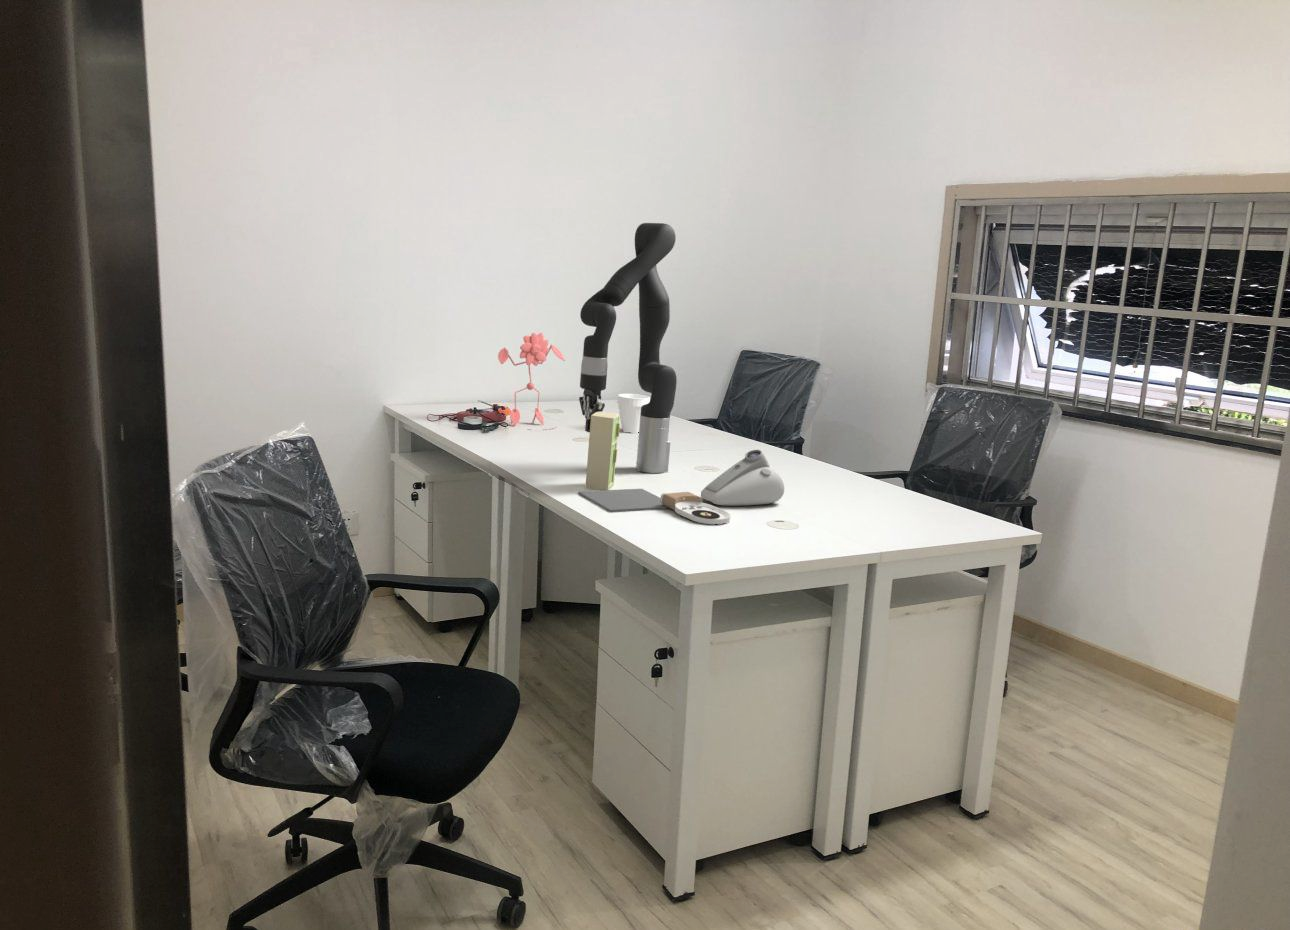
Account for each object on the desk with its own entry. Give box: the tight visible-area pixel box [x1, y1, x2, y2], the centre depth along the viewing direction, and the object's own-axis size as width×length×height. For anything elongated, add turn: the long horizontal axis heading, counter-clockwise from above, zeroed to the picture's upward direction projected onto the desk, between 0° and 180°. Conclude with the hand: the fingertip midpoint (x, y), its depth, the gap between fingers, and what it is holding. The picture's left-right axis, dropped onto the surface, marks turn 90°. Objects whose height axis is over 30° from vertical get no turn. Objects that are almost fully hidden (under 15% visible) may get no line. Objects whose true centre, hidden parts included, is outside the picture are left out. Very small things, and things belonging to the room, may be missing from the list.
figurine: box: [497, 332, 565, 431], centre depth 368 cm, size 15×26×35 cm, turn 125°
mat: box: [577, 488, 672, 513], centre depth 270 cm, size 20×20×1 cm
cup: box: [616, 393, 651, 434], centre depth 377 cm, size 12×12×14 cm
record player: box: [660, 490, 731, 525], centre depth 261 cm, size 12×3×20 cm
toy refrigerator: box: [585, 411, 621, 491], centre depth 282 cm, size 8×7×21 cm
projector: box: [700, 449, 785, 507], centre depth 280 cm, size 22×23×15 cm
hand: (589, 431), depth 289 cm, fingers closed
